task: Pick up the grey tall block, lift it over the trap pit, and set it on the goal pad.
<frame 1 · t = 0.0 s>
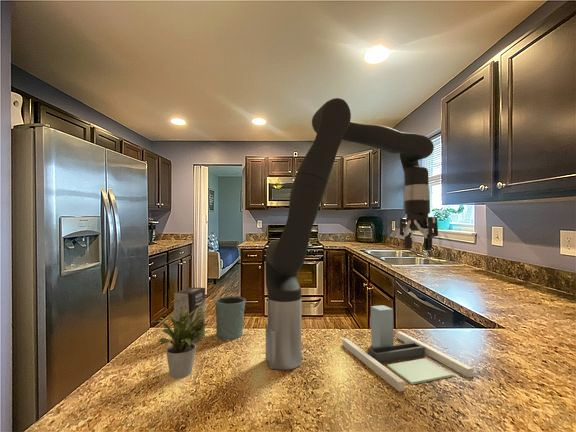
hand: (417, 249, 92), 29 cm above the counter, tool pointing down, fingers open, 8 cm apart
lane rails: (400, 359, 79), on the counter
grey tall block: (382, 347, 86), on the counter
house plant: (178, 376, 70), on the counter
coffee box: (189, 340, 93), on the counter
goal pad: (418, 371, 72), on the counter
trap pit: (396, 356, 80), on the counter
teal cup: (230, 335, 96), on the counter
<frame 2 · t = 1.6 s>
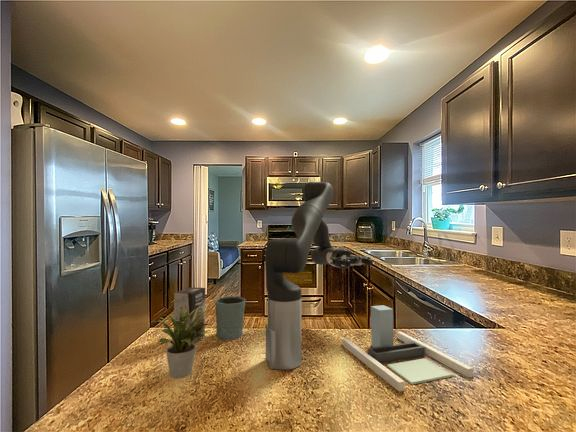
hand: (360, 263, 99), 24 cm above the counter, tool horizontal, fingers open, 8 cm apart
nothing on the counter moved.
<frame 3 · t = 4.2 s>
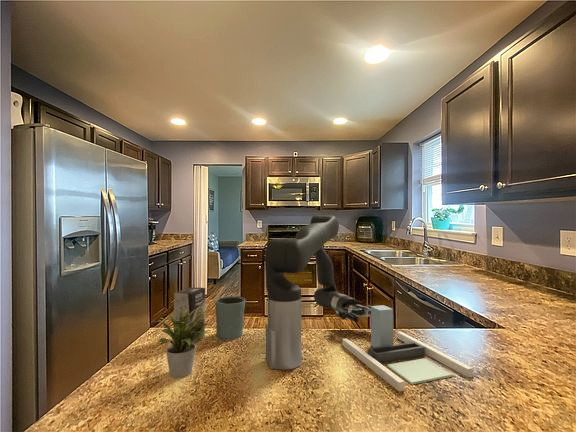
hand: (368, 318, 93), 7 cm above the counter, tool horizontal, fingers open, 8 cm apart
nothing on the counter moved.
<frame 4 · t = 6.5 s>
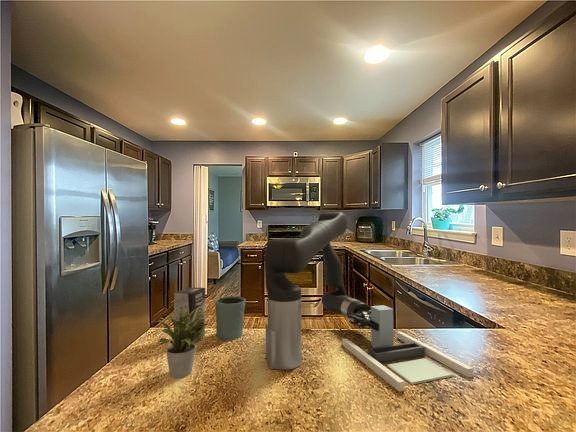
hand: (385, 326, 85), 7 cm above the counter, tool horizontal, fingers closed on grey tall block, 4 cm apart
grey tall block: (382, 347, 86), on the counter, touching gripper
everything else where it was.
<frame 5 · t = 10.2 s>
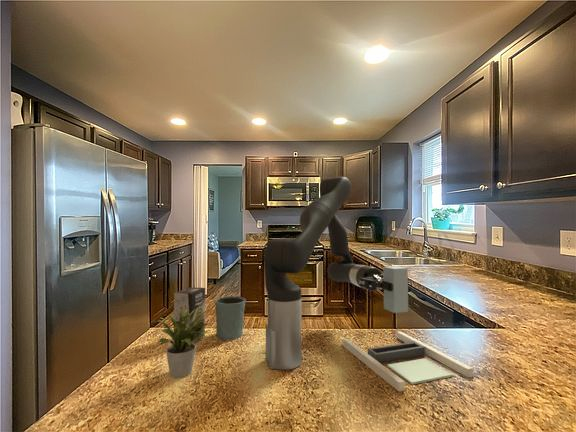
hand: (399, 286, 79), 20 cm above the counter, tool horizontal, fingers closed on grey tall block, 4 cm apart
grey tall block: (395, 310, 81), point 13 cm above the counter, touching gripper
everything else where it was.
when the fingers open (9 cm above the counter, at t = 14.1 s): grey tall block drops 1 cm, resting on goal pad.
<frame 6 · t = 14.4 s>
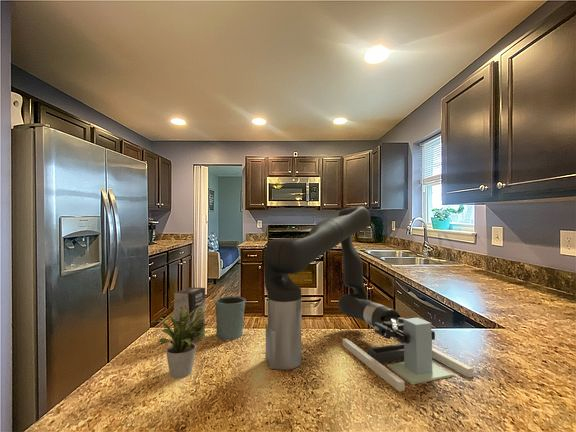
hand: (421, 337, 71), 9 cm above the counter, tool horizontal, fingers open, 7 cm apart
grey tall block: (418, 369, 72), point 1 cm above the counter, touching goal pad
everything else where it was.
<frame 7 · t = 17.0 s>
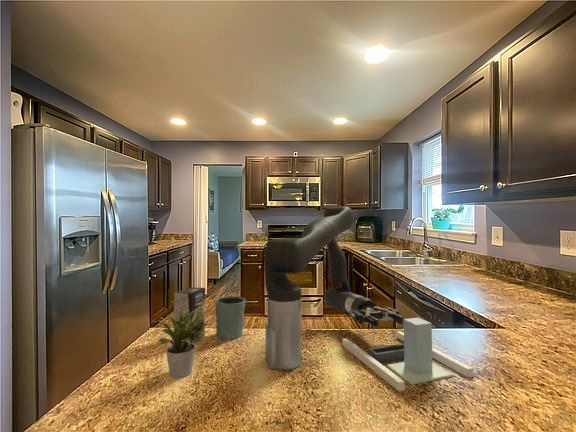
hand: (390, 322, 83), 9 cm above the counter, tool horizontal, fingers open, 8 cm apart
nothing on the counter moved.
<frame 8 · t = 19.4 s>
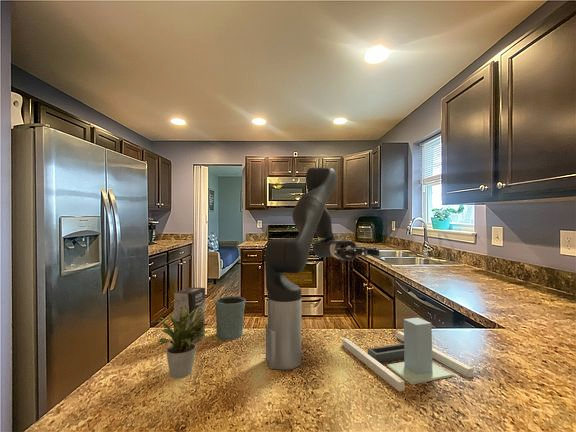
hand: (367, 253, 93), 28 cm above the counter, tool horizontal, fingers open, 8 cm apart
nothing on the counter moved.
at the end: grey tall block inside the target area (0.2 cm from its centre), point 0.5 cm above the counter; grey tall block tilted 0°; the gripper is holding nothing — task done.
